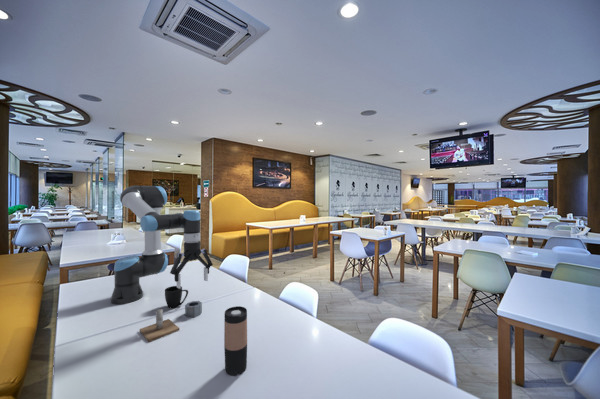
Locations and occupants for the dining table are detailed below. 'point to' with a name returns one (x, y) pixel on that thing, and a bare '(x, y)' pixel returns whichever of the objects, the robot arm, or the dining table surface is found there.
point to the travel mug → (235, 340)
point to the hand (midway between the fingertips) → (192, 284)
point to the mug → (174, 296)
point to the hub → (193, 309)
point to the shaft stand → (159, 328)
